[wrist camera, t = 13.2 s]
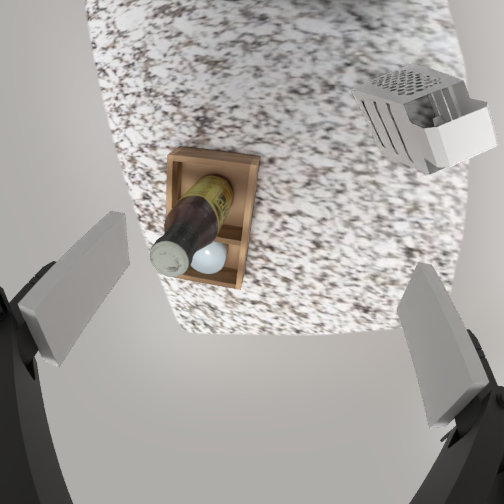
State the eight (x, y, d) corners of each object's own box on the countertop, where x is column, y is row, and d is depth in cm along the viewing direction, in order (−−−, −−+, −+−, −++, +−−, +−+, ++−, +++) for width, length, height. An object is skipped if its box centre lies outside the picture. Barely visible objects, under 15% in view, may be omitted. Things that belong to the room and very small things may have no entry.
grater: (350, 88, 37) (395, 98, 20) (413, 63, 33) (492, 62, 16) (381, 155, 41) (437, 212, 24) (440, 129, 37) (521, 171, 20)
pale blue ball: (193, 227, 50) (187, 237, 47) (230, 233, 49) (226, 244, 46) (192, 258, 53) (186, 270, 50) (227, 264, 53) (223, 276, 50)
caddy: (179, 146, 44) (167, 154, 40) (260, 156, 43) (256, 165, 39) (177, 259, 54) (167, 276, 50) (244, 271, 54) (240, 289, 50)
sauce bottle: (230, 215, 48) (194, 299, 31) (191, 204, 48) (137, 280, 31) (240, 176, 44) (206, 246, 28) (199, 164, 44) (141, 226, 27)
